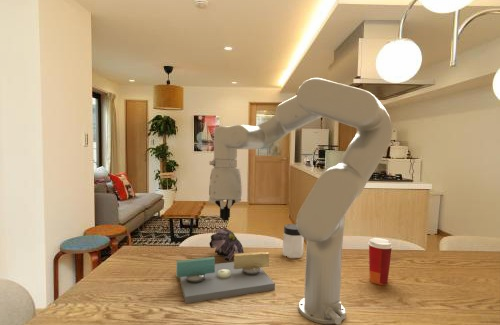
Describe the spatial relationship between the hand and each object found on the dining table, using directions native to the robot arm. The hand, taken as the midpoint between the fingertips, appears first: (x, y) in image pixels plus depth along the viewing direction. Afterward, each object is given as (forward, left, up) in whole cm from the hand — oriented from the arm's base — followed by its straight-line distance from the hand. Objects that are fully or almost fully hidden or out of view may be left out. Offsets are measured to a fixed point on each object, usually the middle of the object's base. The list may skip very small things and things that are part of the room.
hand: (224, 219), depth 96 cm
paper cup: (-15, -51, -21) cm, 57 cm away
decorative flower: (+21, -7, -21) cm, 31 cm away
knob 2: (0, -10, -19) cm, 21 cm away
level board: (0, 0, -21) cm, 21 cm away
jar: (+15, -34, -21) cm, 42 cm away
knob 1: (0, +9, -19) cm, 21 cm away
